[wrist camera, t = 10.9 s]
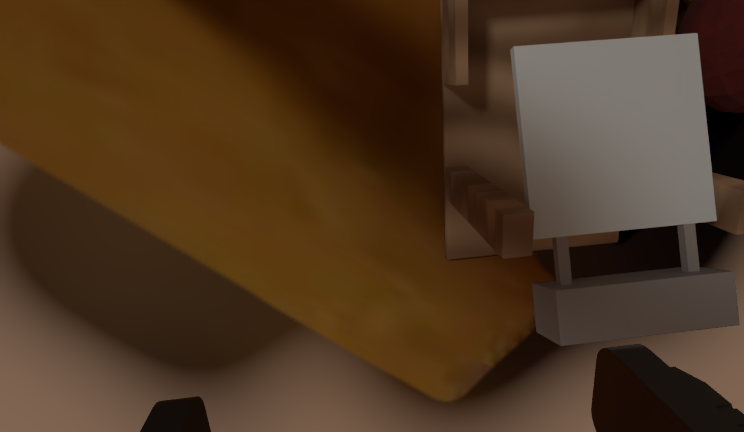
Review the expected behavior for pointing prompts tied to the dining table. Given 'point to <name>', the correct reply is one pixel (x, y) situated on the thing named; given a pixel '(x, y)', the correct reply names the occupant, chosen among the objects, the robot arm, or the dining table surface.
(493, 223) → the stand
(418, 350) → the dining table surface
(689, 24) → the potato
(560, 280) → the trapdoor
